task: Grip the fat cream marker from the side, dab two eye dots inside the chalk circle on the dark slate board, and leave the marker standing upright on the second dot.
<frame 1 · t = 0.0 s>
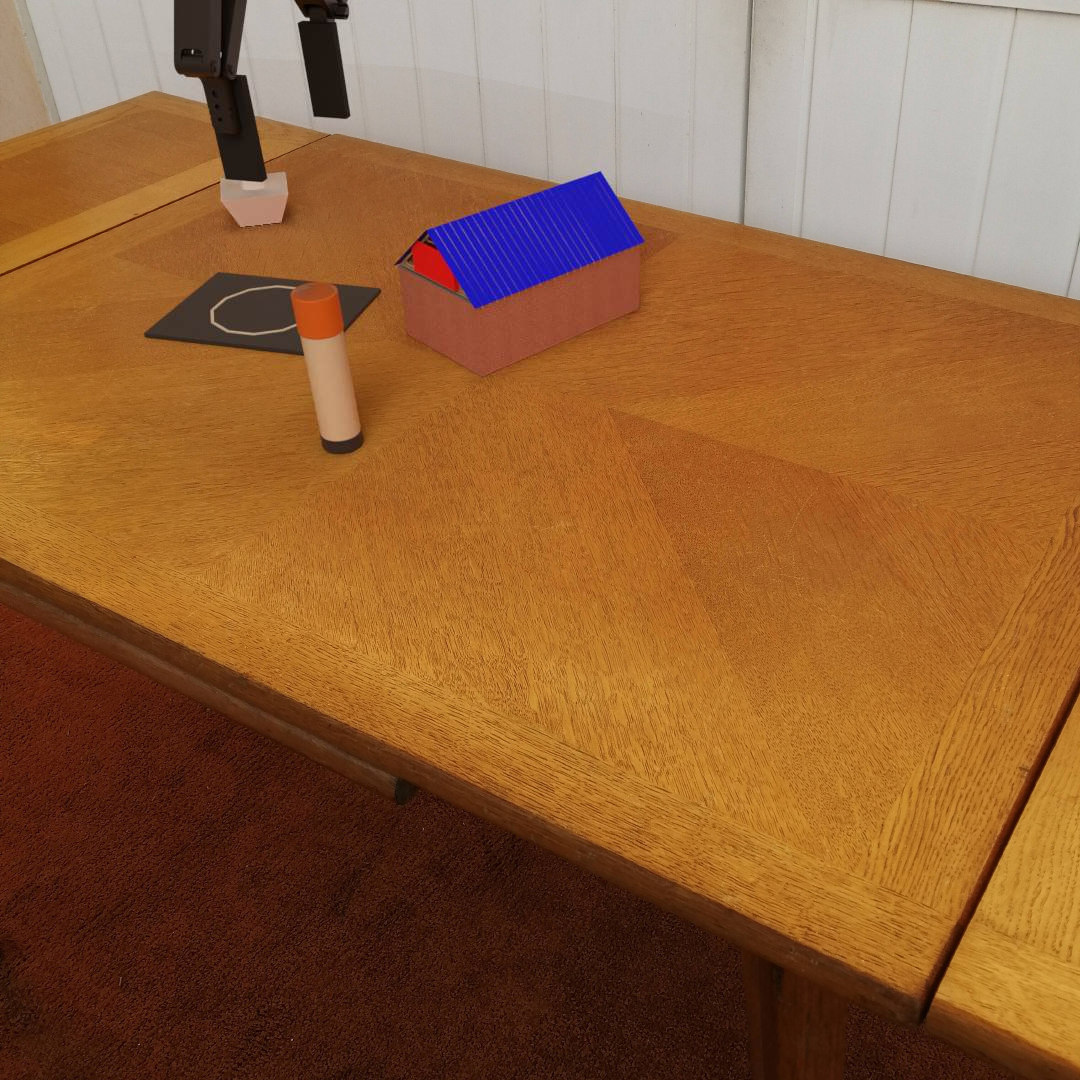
hand: (292, 146, 80), 22 cm above the table, tool pointing down, fingers open, 13 cm apart
house: (525, 323, 106), on the table
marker: (342, 443, 90), on the table
slate board: (266, 313, 108), on the table
figurine: (261, 220, 127), on the table
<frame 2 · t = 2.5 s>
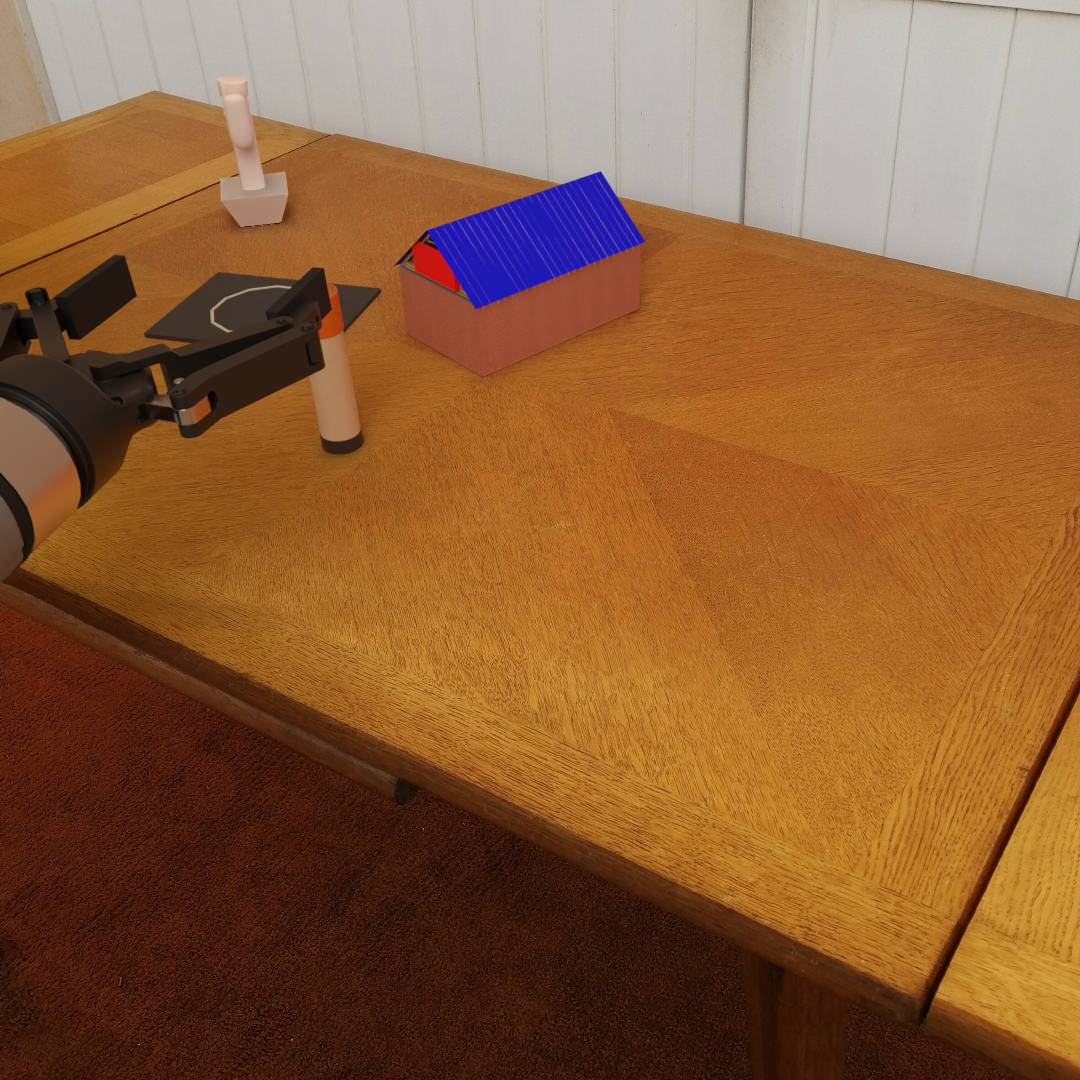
hand: (222, 281, 70), 18 cm above the table, tool horizontal, fingers open, 13 cm apart
nothing on the table moved.
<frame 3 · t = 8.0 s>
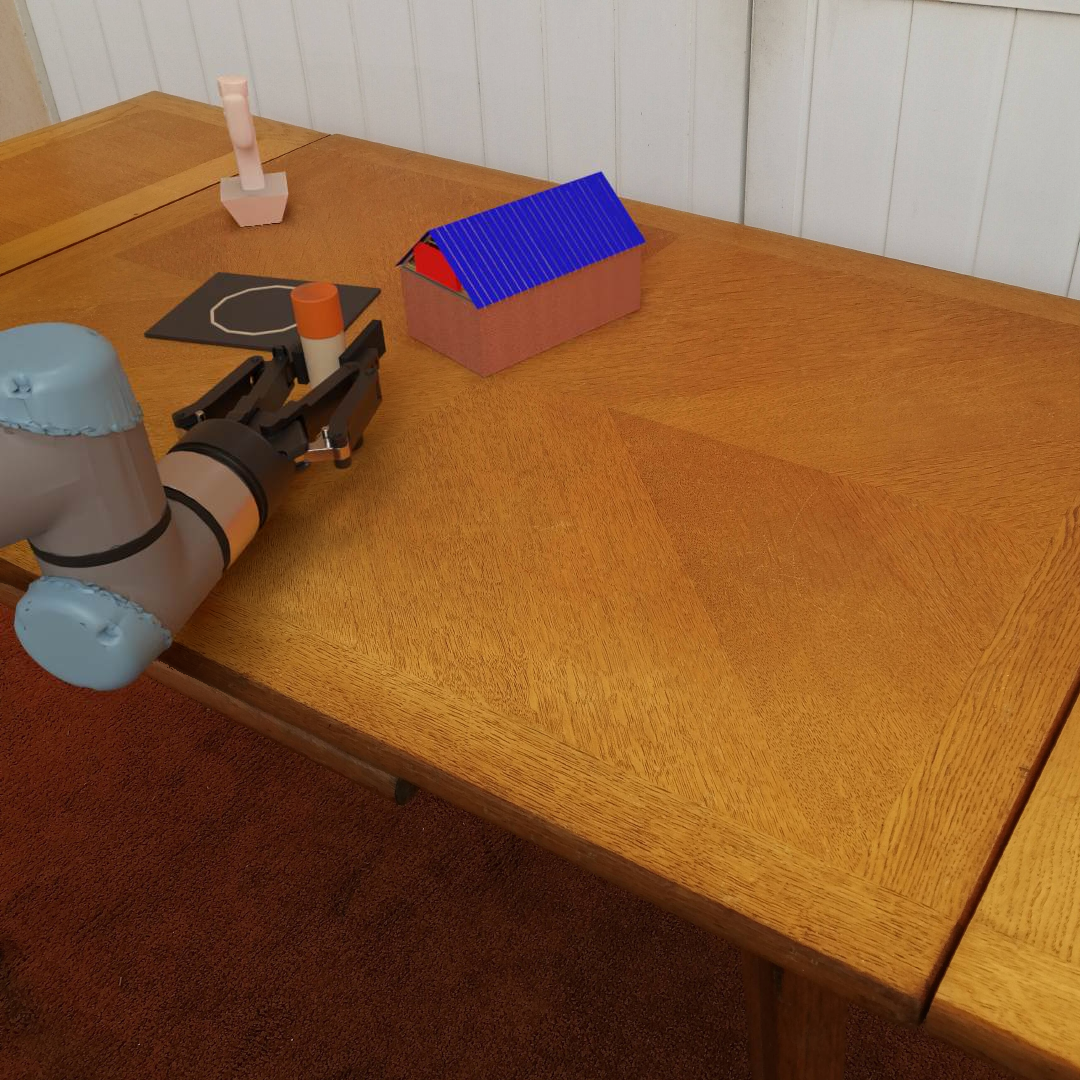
hand: (356, 333, 89), 7 cm above the table, tool horizontal, fingers closed on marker, 3 cm apart
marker: (342, 443, 90), on the table, touching gripper
everything else where it was.
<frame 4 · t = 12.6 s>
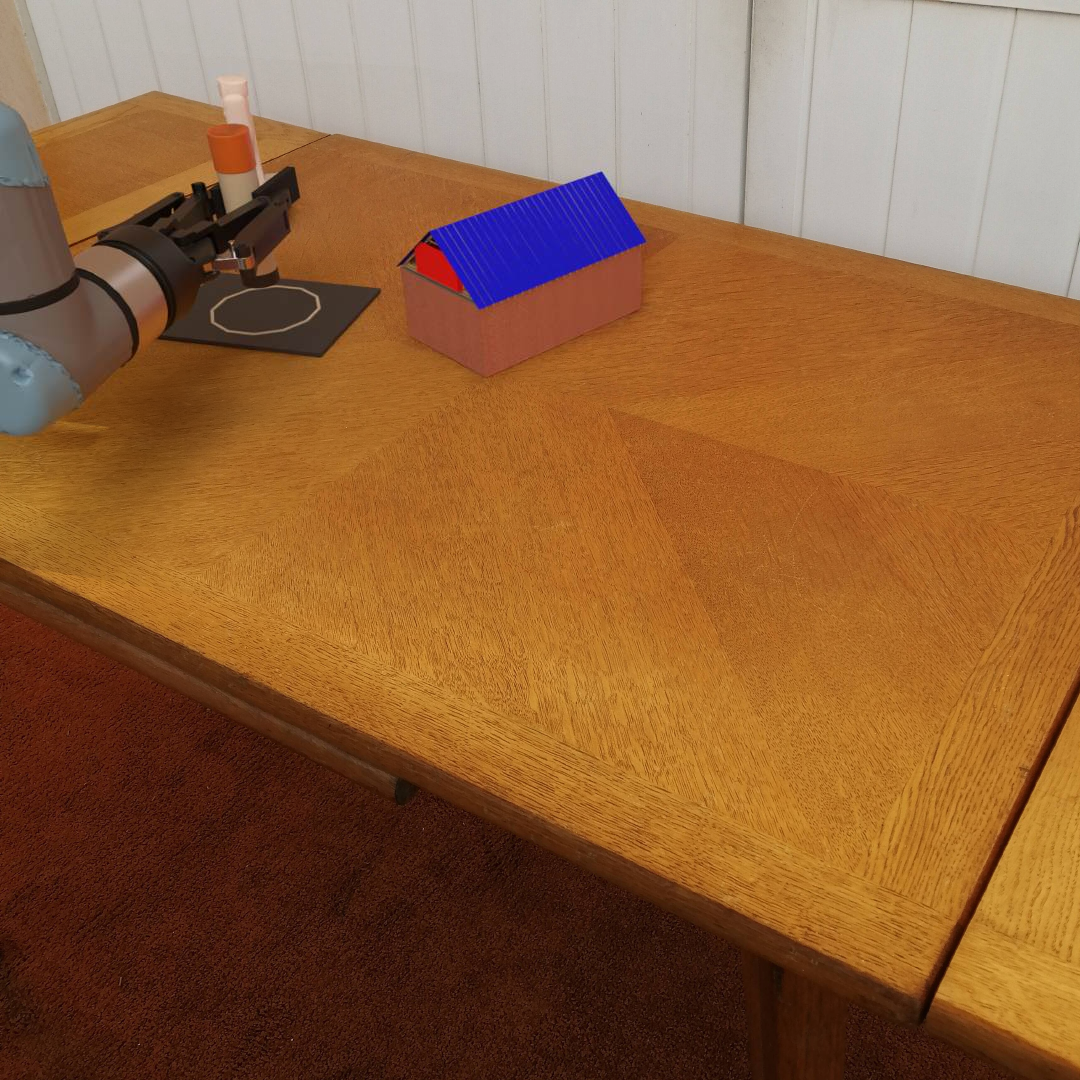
hand: (273, 180, 99), 13 cm above the table, tool horizontal, fingers closed on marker, 3 cm apart
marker: (261, 281, 99), point 6 cm above the table, touching gripper
everything else where it was.
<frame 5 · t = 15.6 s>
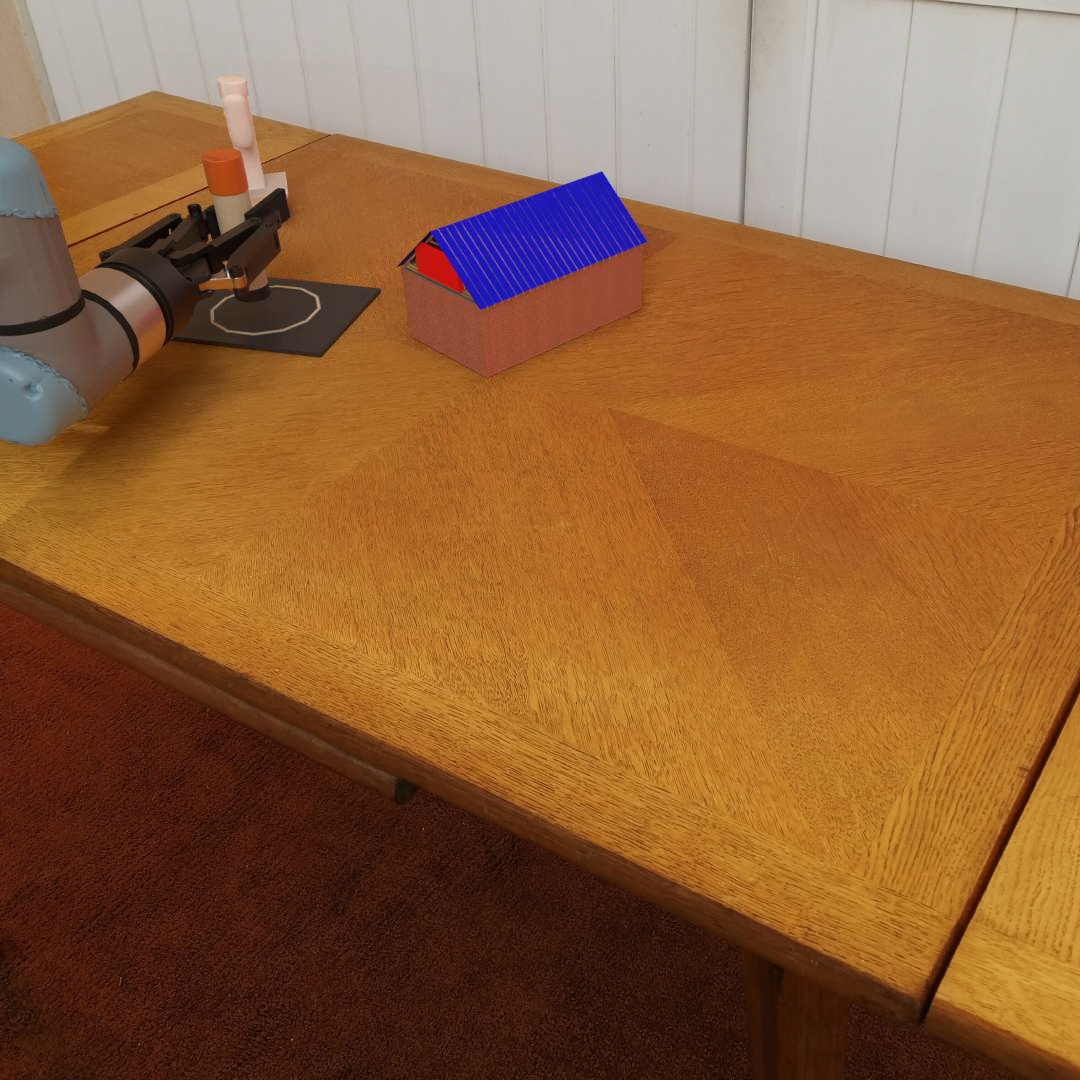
hand: (264, 201, 105), 10 cm above the table, tool horizontal, fingers closed on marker, 3 cm apart
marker: (253, 295, 105), point 3 cm above the table, touching gripper
everything else where it was.
when the fingers open (7 cm above the table, at t = 17.5 s): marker stays where it is, resting on slate board.
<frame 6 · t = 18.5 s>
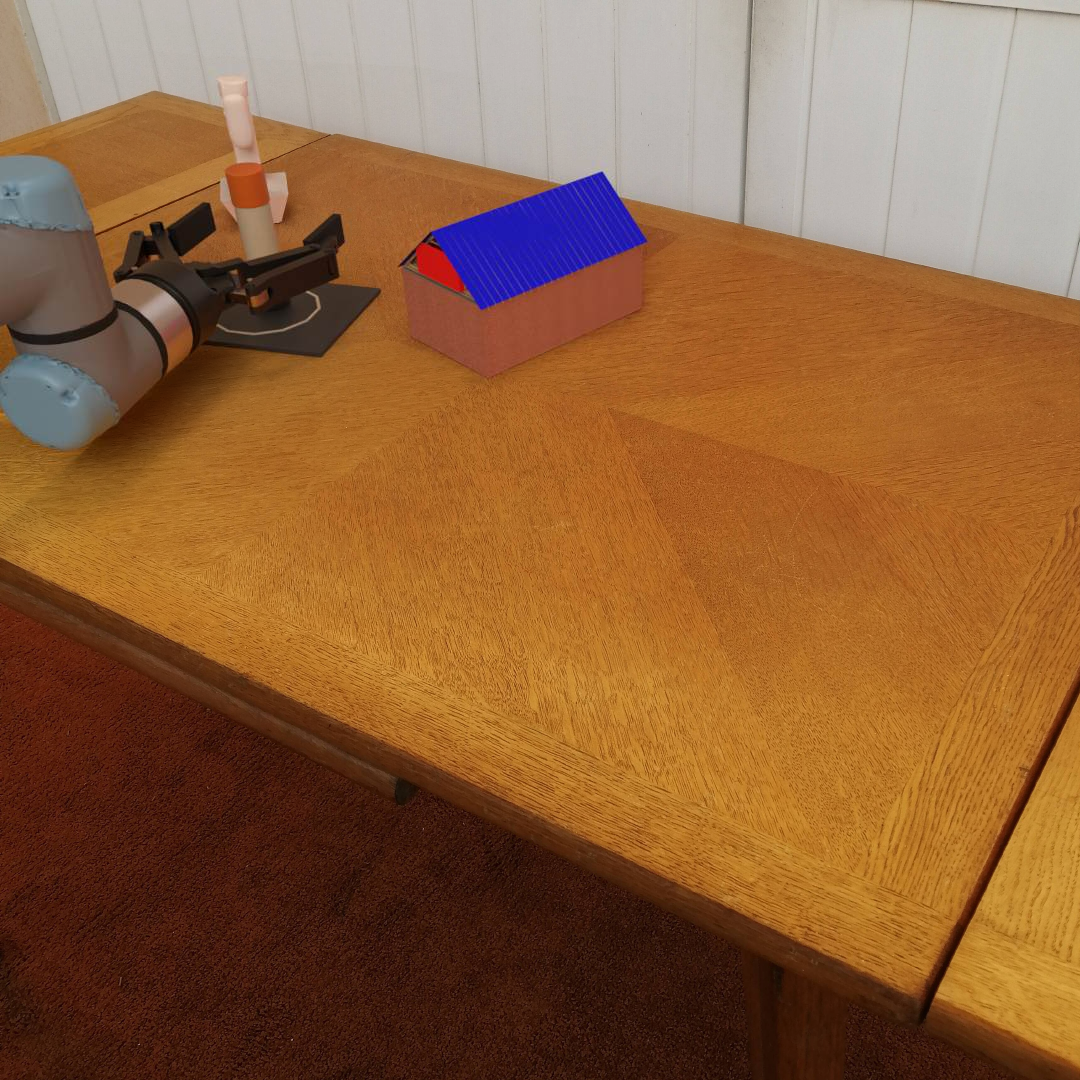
hand: (273, 221, 107), 7 cm above the table, tool horizontal, fingers open, 13 cm apart
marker: (273, 303, 109), resting on slate board
everything else where it was.
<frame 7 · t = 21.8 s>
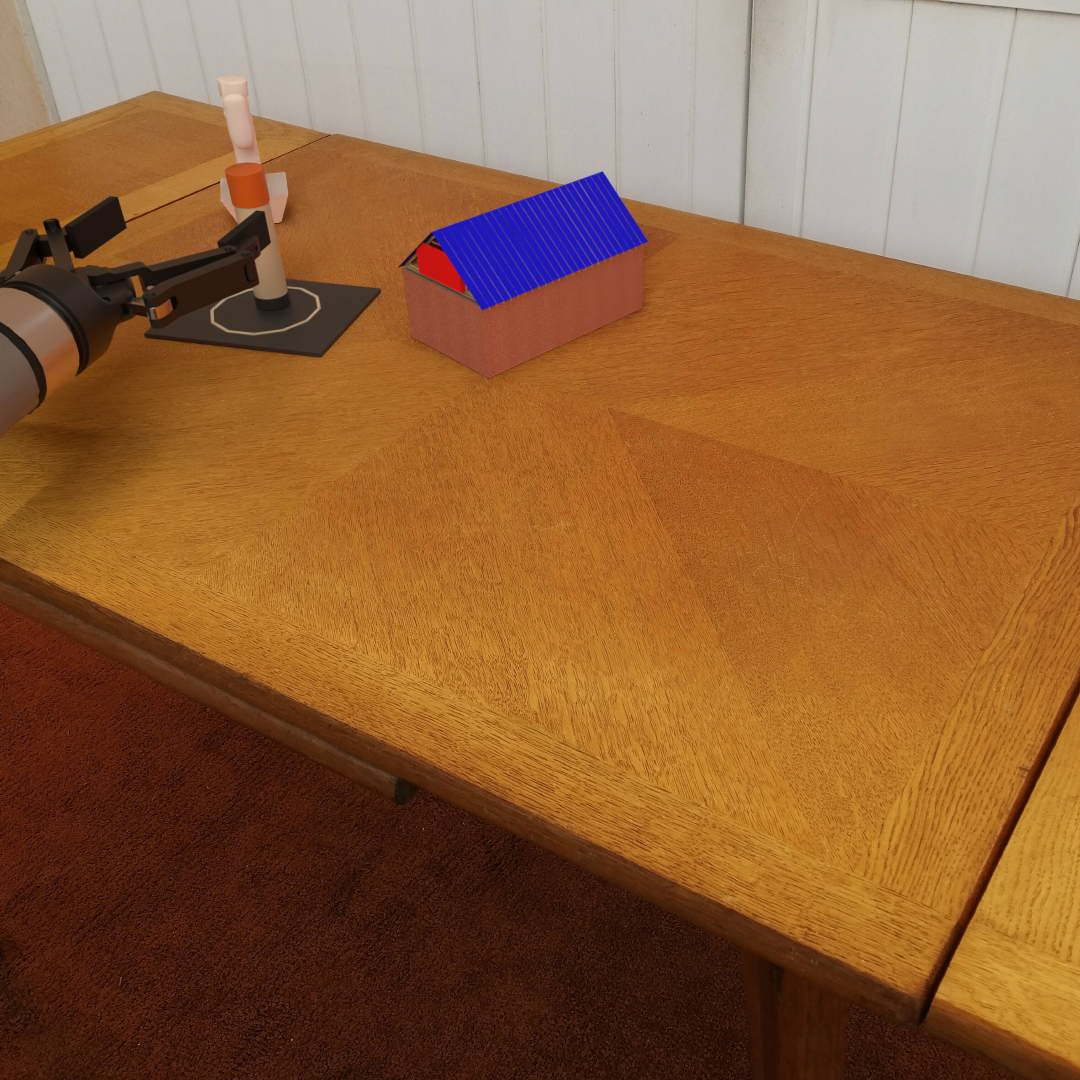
hand: (190, 219, 94), 12 cm above the table, tool horizontal, fingers open, 13 cm apart
nothing on the table moved.
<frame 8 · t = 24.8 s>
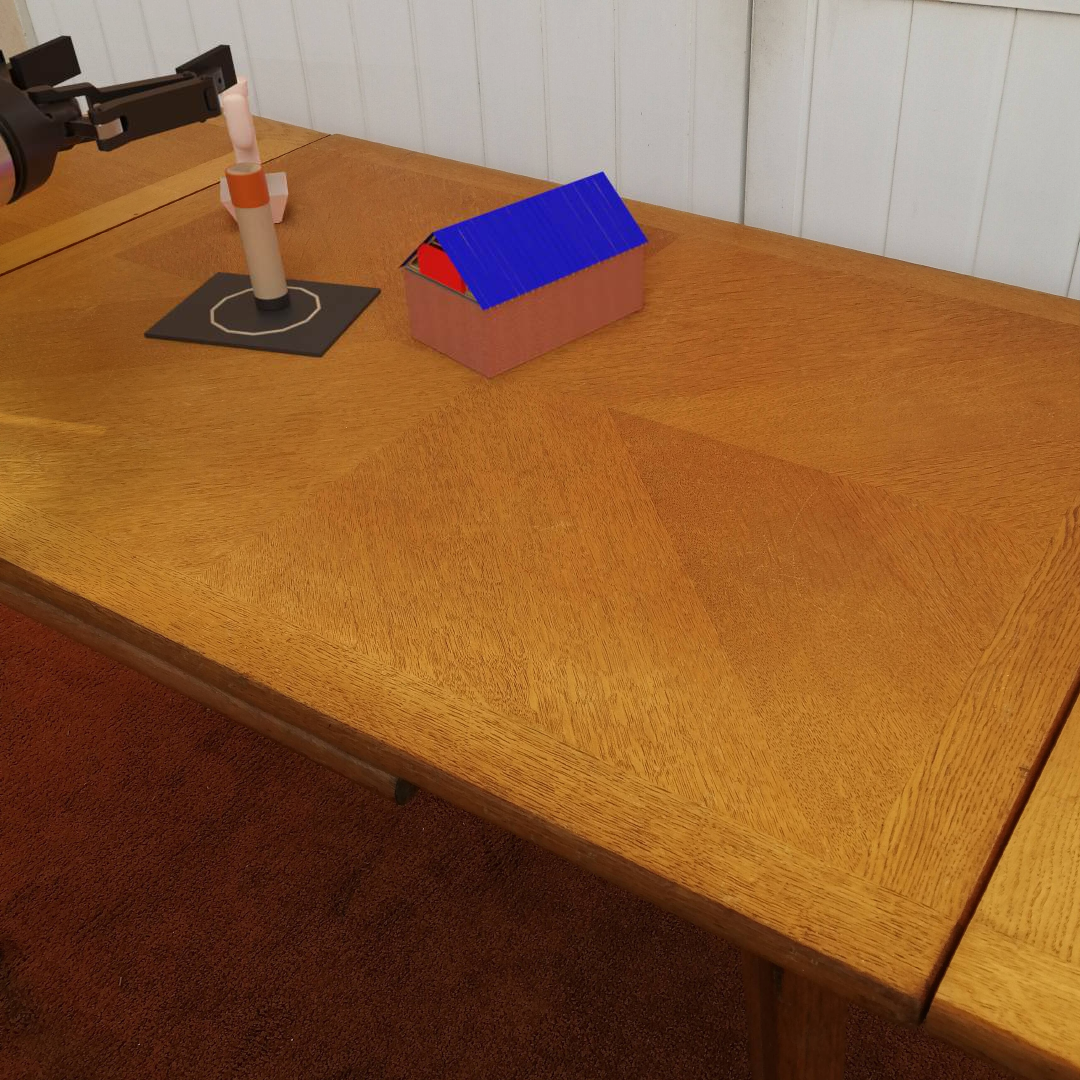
hand: (149, 59, 86), 25 cm above the table, tool horizontal, fingers open, 13 cm apart
nothing on the table moved.
at the end: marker inside the target area on the slate board (1.5 cm from its centre), point 0.4 cm above the slate board's base; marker tilted 0°; the gripper is holding nothing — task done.
